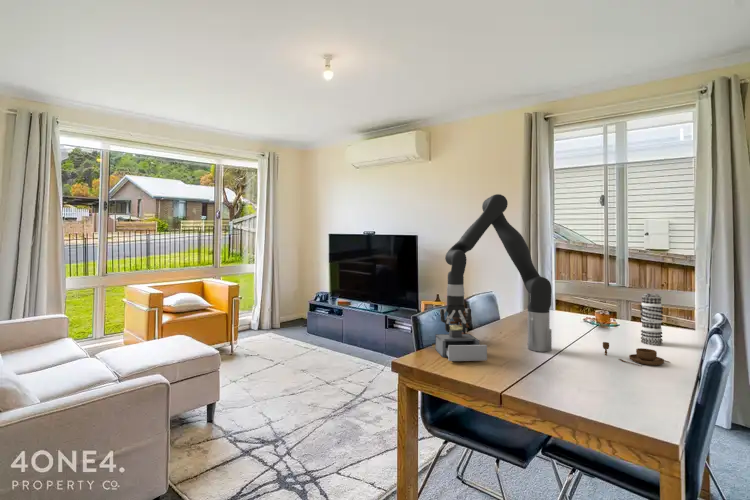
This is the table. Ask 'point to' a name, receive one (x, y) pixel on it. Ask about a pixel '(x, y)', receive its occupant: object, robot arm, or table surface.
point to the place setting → (641, 356)
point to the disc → (455, 327)
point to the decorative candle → (651, 319)
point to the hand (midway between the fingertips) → (455, 331)
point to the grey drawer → (466, 352)
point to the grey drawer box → (453, 341)
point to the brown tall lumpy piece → (457, 320)
